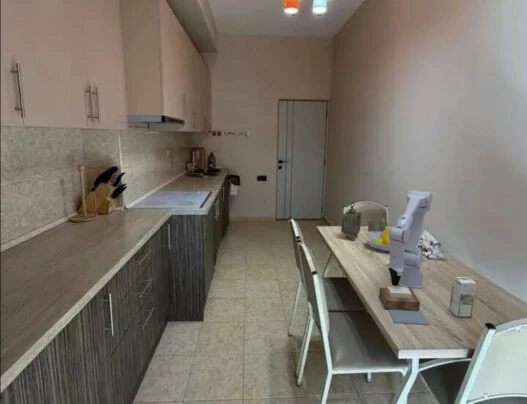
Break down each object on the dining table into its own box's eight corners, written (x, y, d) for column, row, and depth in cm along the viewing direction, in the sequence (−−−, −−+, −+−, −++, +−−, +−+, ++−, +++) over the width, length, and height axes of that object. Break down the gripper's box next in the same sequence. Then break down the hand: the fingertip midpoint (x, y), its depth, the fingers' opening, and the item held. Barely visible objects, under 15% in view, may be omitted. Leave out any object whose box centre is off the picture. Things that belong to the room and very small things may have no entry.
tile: (407, 291, 148) (407, 287, 147) (411, 298, 142) (411, 293, 141) (387, 290, 149) (387, 286, 148) (390, 297, 143) (390, 292, 142)
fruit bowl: (356, 247, 216) (357, 230, 214) (380, 239, 234) (381, 222, 231) (399, 260, 195) (401, 240, 193) (421, 249, 213) (423, 231, 211)
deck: (410, 297, 151) (411, 288, 150) (419, 311, 139) (419, 302, 139) (379, 296, 153) (379, 287, 152) (385, 309, 141) (385, 300, 140)
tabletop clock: (354, 242, 227) (355, 204, 222) (340, 240, 232) (341, 203, 227) (359, 236, 240) (361, 200, 235) (346, 234, 244) (348, 199, 239)
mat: (421, 312, 139) (421, 311, 139) (429, 325, 129) (429, 324, 129) (388, 310, 140) (388, 309, 140) (394, 322, 131) (394, 321, 131)
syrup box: (463, 309, 140) (467, 275, 138) (472, 317, 135) (476, 282, 132) (449, 310, 140) (452, 276, 137) (457, 317, 134) (461, 282, 132)
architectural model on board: (383, 230, 255) (384, 217, 253) (385, 232, 252) (385, 218, 250) (368, 230, 255) (368, 217, 253) (369, 231, 252) (369, 218, 250)
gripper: (383, 249, 157) (381, 277, 160) (391, 260, 143) (388, 292, 146) (400, 250, 156) (397, 278, 159) (409, 261, 142) (406, 292, 145)
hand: (394, 285), depth 152 cm, fingers closed
